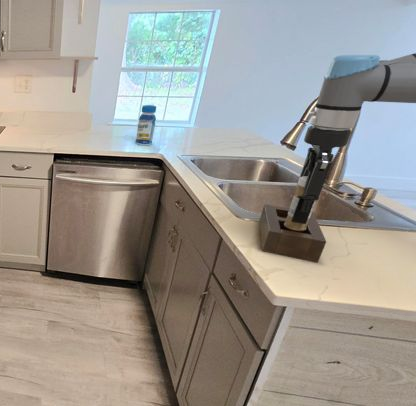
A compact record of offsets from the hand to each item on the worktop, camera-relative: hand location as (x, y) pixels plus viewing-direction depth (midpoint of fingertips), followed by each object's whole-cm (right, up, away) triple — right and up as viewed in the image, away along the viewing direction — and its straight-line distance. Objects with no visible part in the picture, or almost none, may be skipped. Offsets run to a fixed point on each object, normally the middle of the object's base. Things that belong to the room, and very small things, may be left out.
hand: (297, 218), depth 93 cm
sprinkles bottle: (0, -3, +1) cm, 3 cm away
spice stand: (+3, -6, +7) cm, 10 cm away
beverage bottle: (+9, +36, +105) cm, 111 cm away
